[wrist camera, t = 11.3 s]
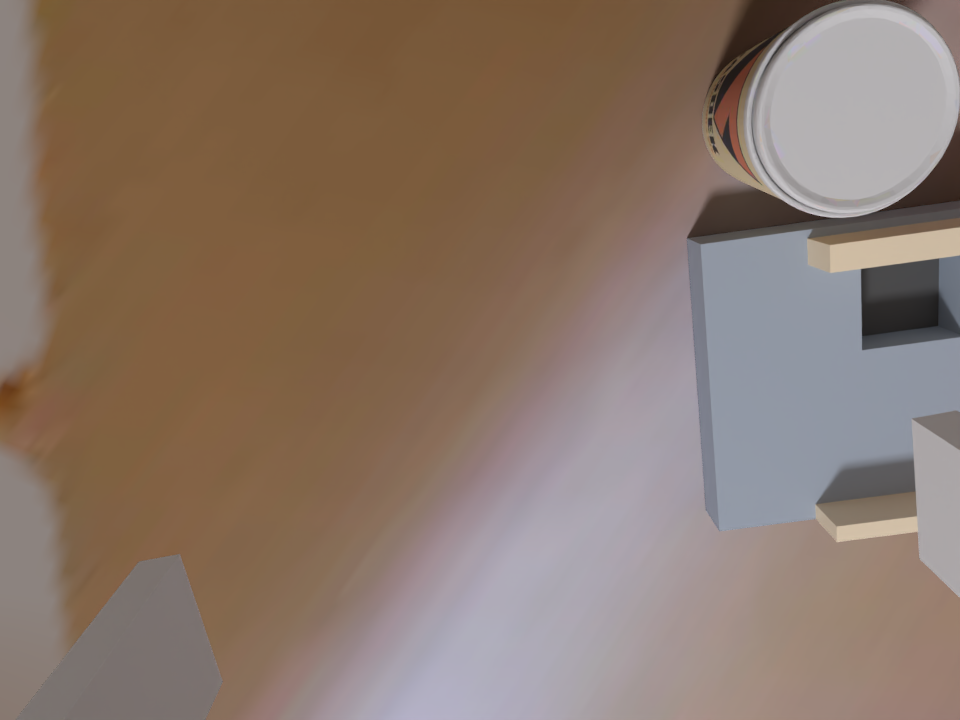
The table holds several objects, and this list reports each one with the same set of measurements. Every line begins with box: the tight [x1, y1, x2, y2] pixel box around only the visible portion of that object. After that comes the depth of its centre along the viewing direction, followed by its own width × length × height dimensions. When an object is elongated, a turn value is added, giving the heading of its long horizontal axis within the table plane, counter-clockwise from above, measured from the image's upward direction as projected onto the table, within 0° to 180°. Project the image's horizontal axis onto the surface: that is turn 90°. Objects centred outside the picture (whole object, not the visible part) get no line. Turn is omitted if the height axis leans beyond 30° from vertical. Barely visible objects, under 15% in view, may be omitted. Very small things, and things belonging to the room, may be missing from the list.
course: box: [687, 201, 960, 542], centre depth 48 cm, size 18×24×6 cm
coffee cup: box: [702, 0, 960, 218], centre depth 41 cm, size 9×9×12 cm
